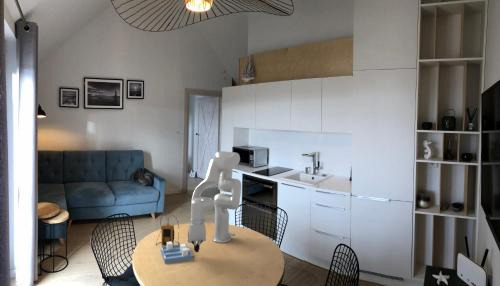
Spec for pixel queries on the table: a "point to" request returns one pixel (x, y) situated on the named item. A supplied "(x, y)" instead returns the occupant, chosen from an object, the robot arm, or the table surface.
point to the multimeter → (168, 233)
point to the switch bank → (175, 254)
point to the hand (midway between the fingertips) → (196, 251)
